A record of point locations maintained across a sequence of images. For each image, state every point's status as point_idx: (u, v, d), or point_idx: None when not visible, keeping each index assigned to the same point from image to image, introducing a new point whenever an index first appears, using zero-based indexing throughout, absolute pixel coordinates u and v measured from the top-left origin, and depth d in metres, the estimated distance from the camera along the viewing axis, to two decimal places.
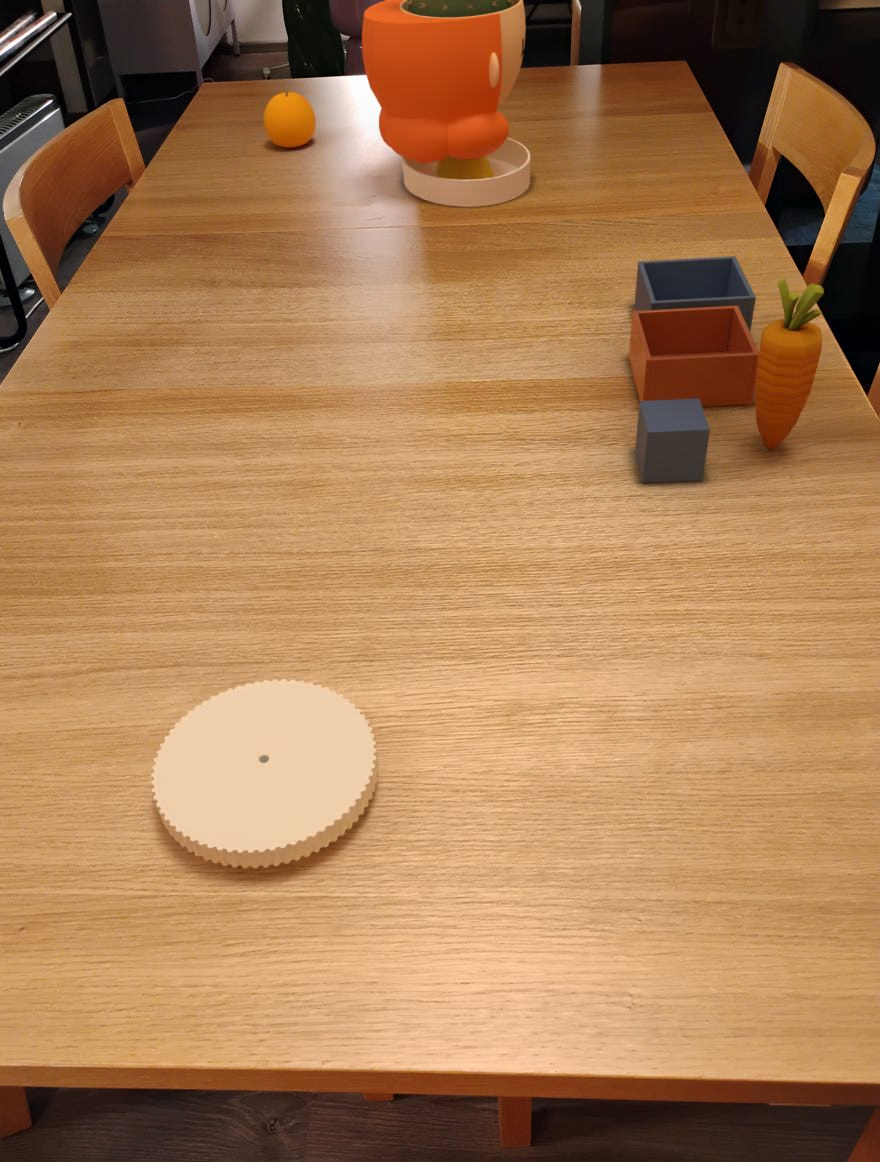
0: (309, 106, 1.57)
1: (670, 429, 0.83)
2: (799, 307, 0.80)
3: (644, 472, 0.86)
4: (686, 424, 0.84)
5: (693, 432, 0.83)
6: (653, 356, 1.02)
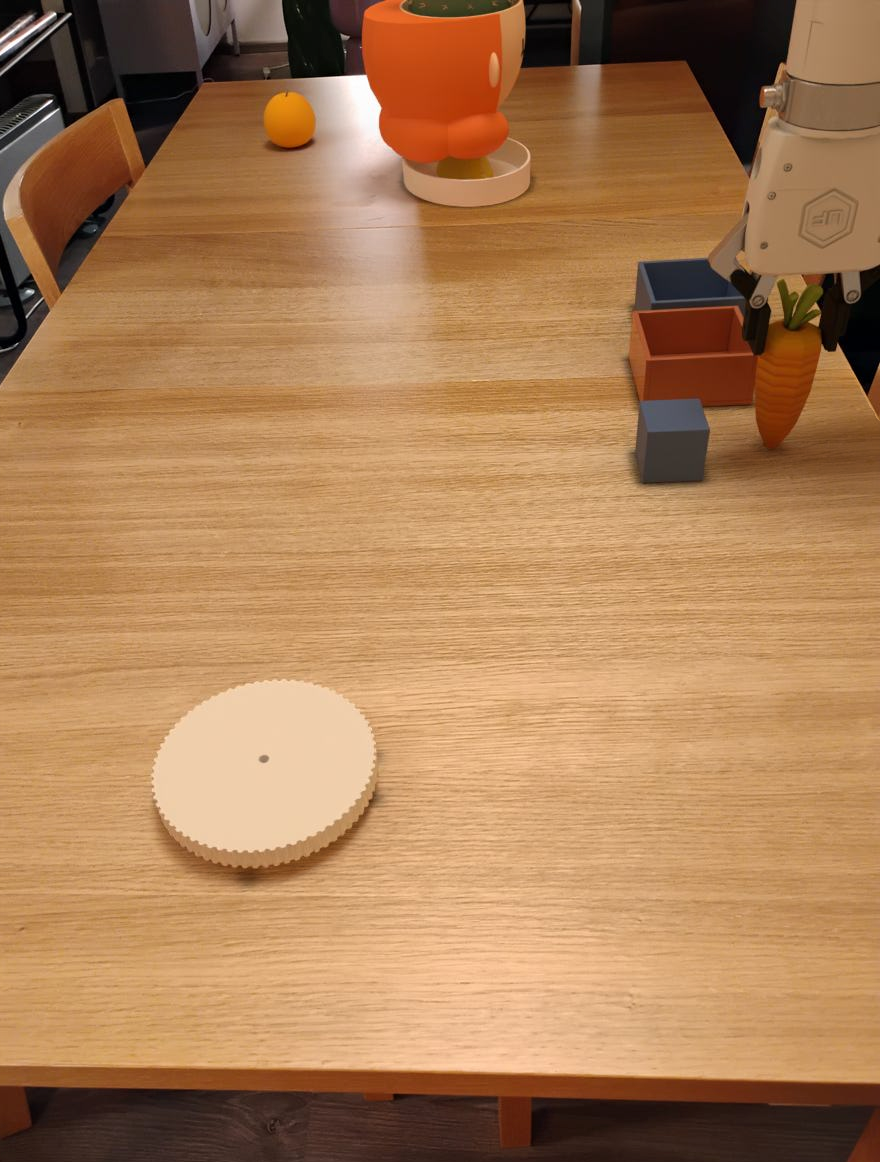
0: (309, 106, 1.57)
1: (670, 429, 0.83)
2: (798, 307, 0.80)
3: (644, 472, 0.86)
4: (686, 424, 0.84)
5: (693, 432, 0.83)
6: (653, 356, 1.02)
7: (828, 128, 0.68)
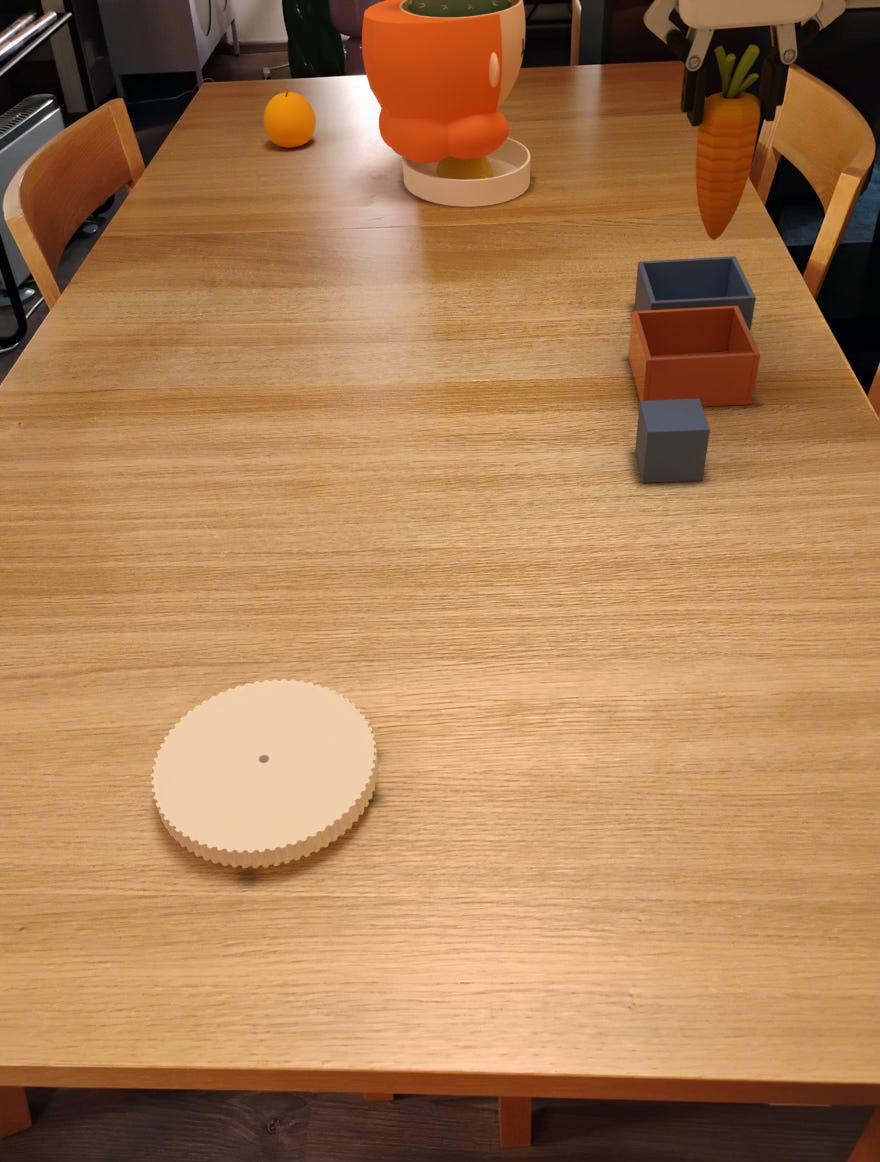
0: (309, 106, 1.57)
1: (670, 429, 0.83)
2: (736, 71, 0.79)
3: (644, 472, 0.86)
4: (686, 424, 0.84)
5: (693, 432, 0.83)
6: (653, 356, 1.02)
7: None
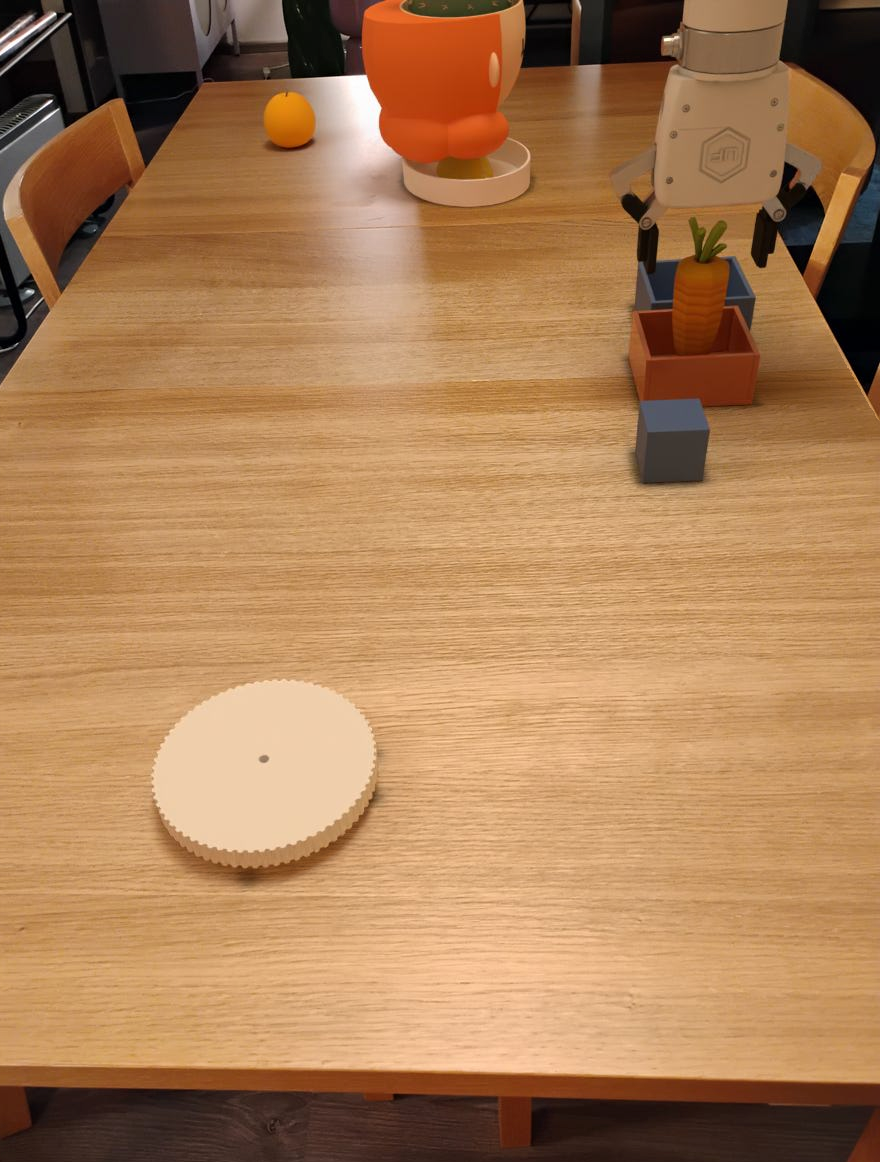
0: (309, 106, 1.57)
1: (670, 429, 0.83)
2: (707, 241, 0.89)
3: (644, 472, 0.86)
4: (686, 424, 0.84)
5: (693, 432, 0.83)
6: (653, 356, 1.02)
7: (718, 72, 0.77)
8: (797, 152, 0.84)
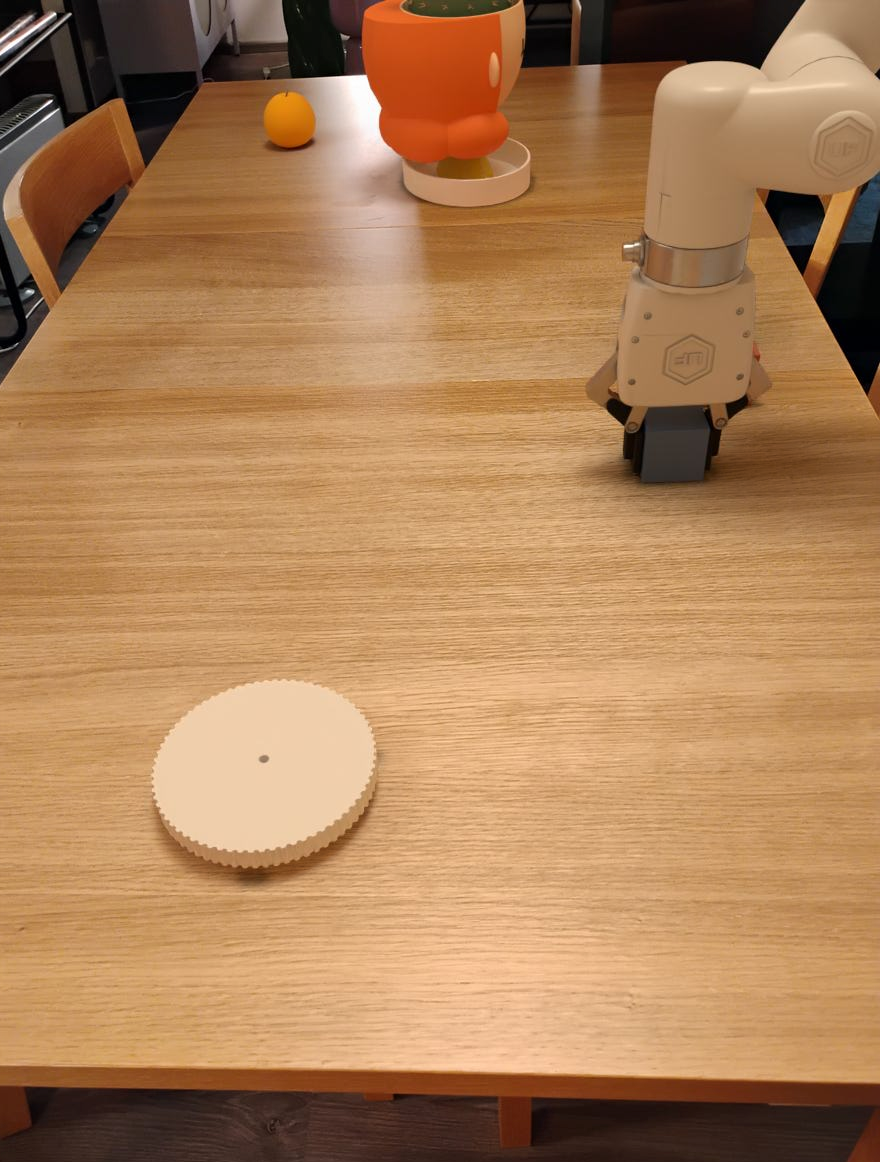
0: (309, 106, 1.57)
1: (670, 429, 0.83)
2: None
3: (644, 472, 0.86)
4: (686, 424, 0.84)
5: (693, 432, 0.83)
6: None
7: (680, 285, 0.74)
8: (755, 365, 0.81)
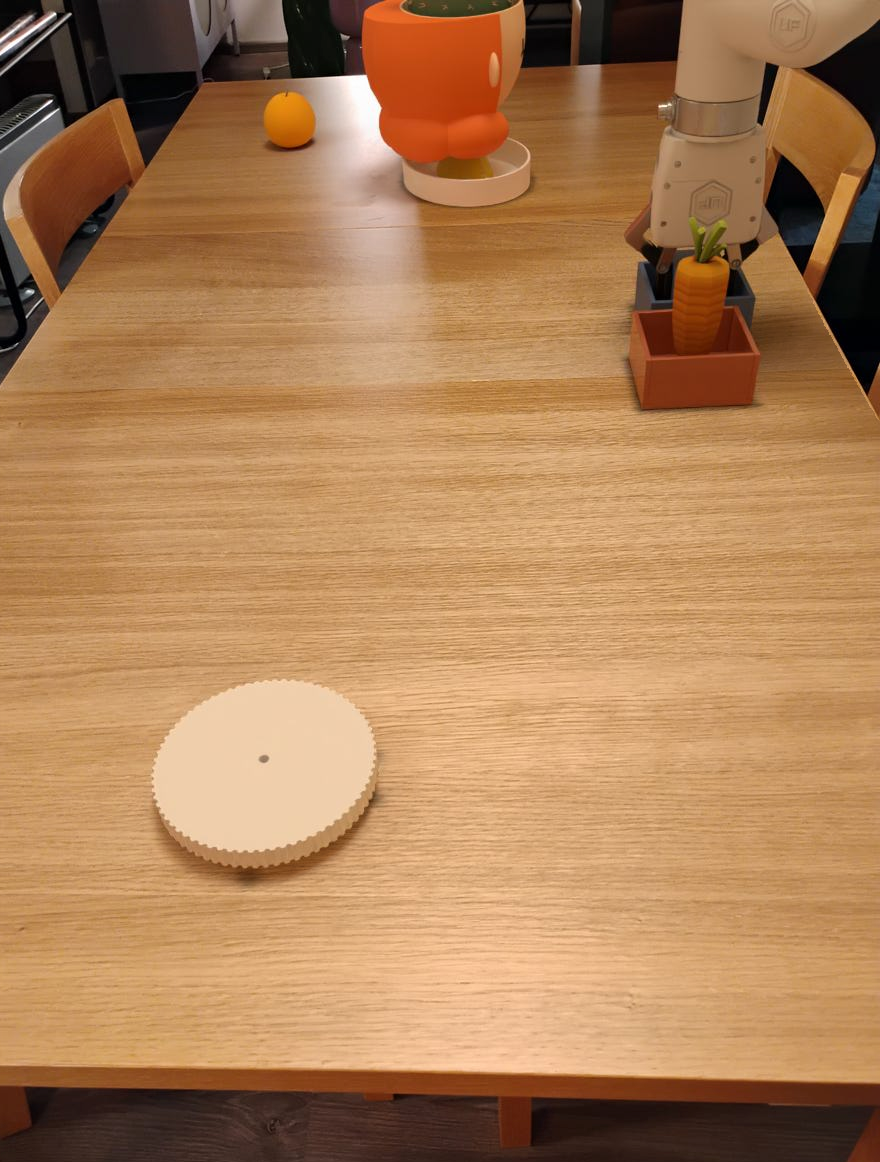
0: (309, 106, 1.57)
1: None
2: (707, 241, 0.89)
3: None
4: None
5: None
6: (653, 356, 1.02)
7: (705, 135, 0.91)
8: (764, 211, 0.98)
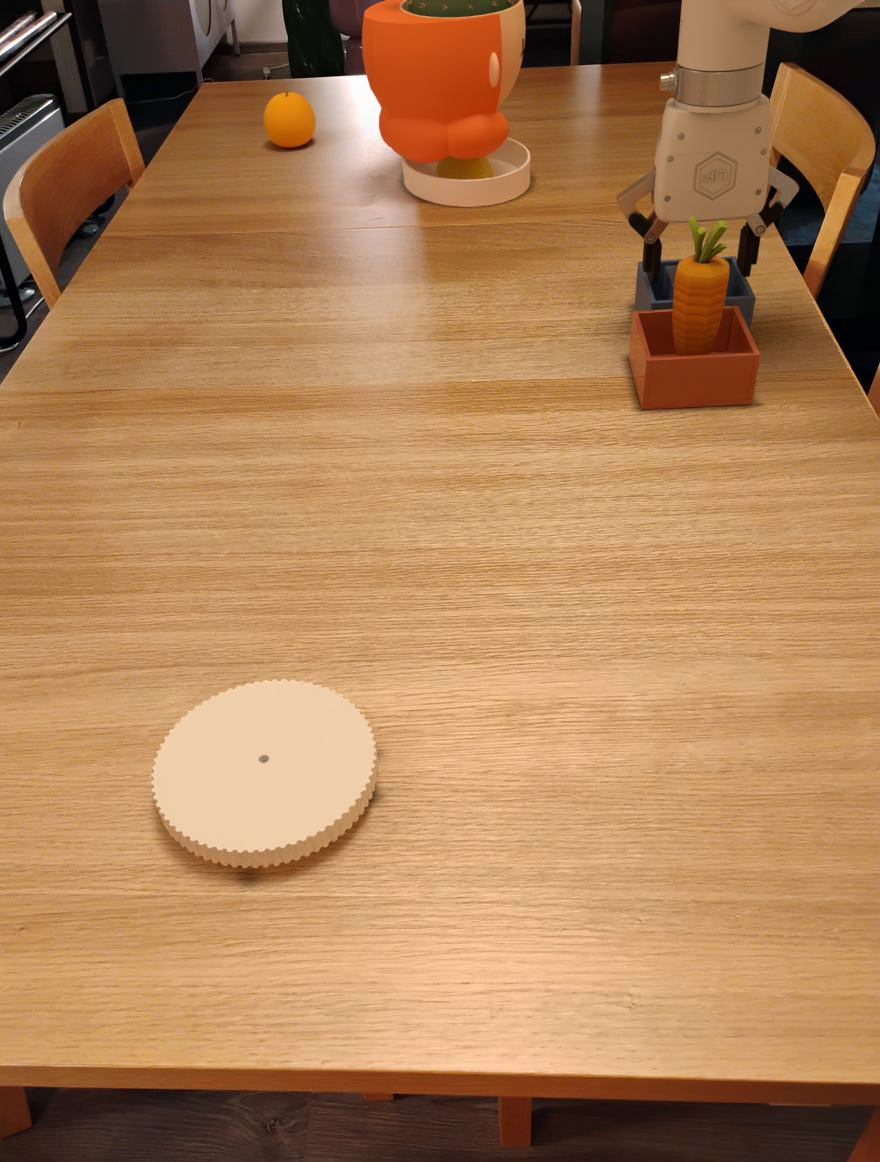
0: (309, 106, 1.57)
1: None
2: (707, 241, 0.89)
3: None
4: None
5: None
6: (653, 356, 1.02)
7: (708, 105, 0.89)
8: (777, 175, 0.96)
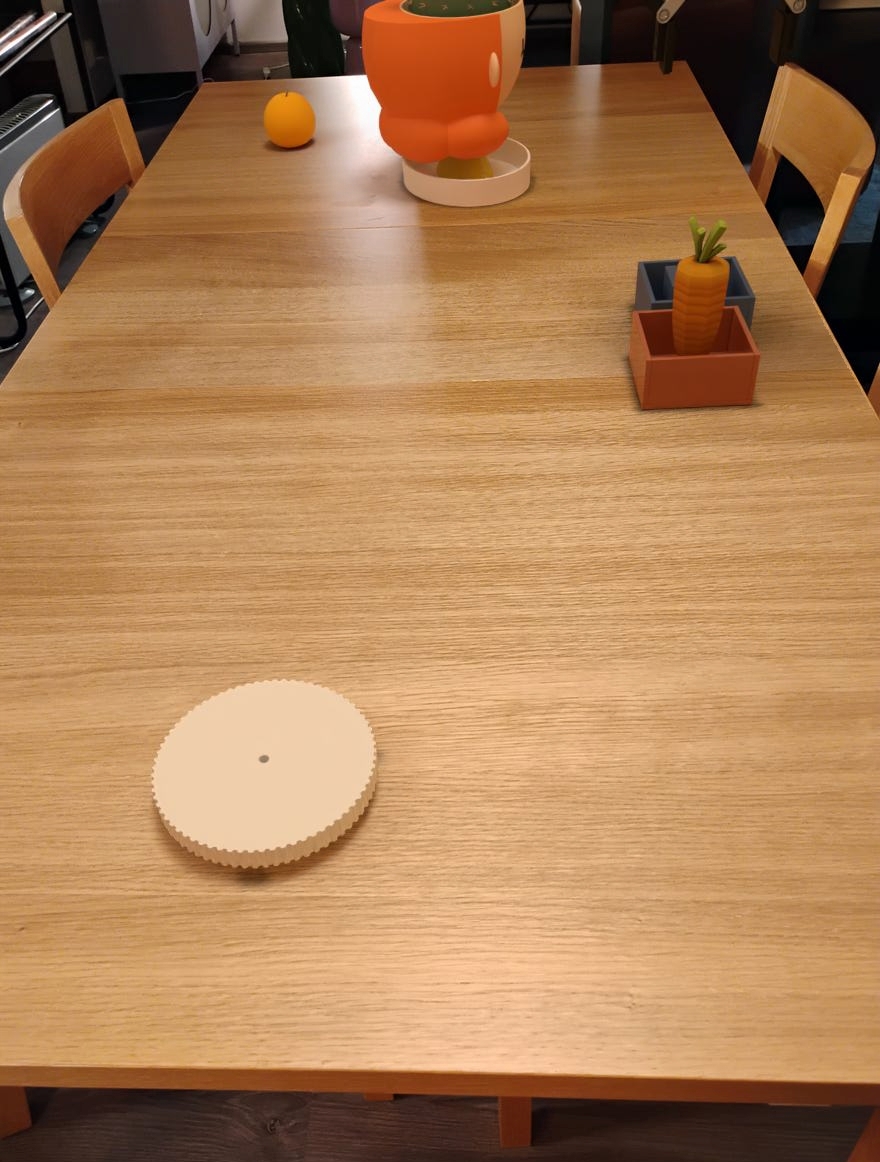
0: (309, 106, 1.57)
1: None
2: (707, 241, 0.89)
3: None
4: None
5: None
6: (653, 356, 1.02)
7: None
8: None
